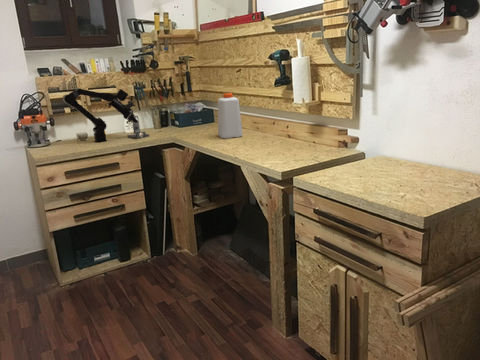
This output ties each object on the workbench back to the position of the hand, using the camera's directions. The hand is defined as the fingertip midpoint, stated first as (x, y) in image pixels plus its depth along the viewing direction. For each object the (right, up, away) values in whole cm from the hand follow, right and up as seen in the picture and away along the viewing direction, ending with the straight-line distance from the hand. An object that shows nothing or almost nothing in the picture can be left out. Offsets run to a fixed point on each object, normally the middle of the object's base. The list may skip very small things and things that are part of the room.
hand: (137, 121), depth 276 cm
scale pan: (-1, -9, +2) cm, 9 cm away
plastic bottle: (+65, -12, -11) cm, 67 cm away
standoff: (-1, -8, +2) cm, 9 cm away
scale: (0, -11, +2) cm, 11 cm away
